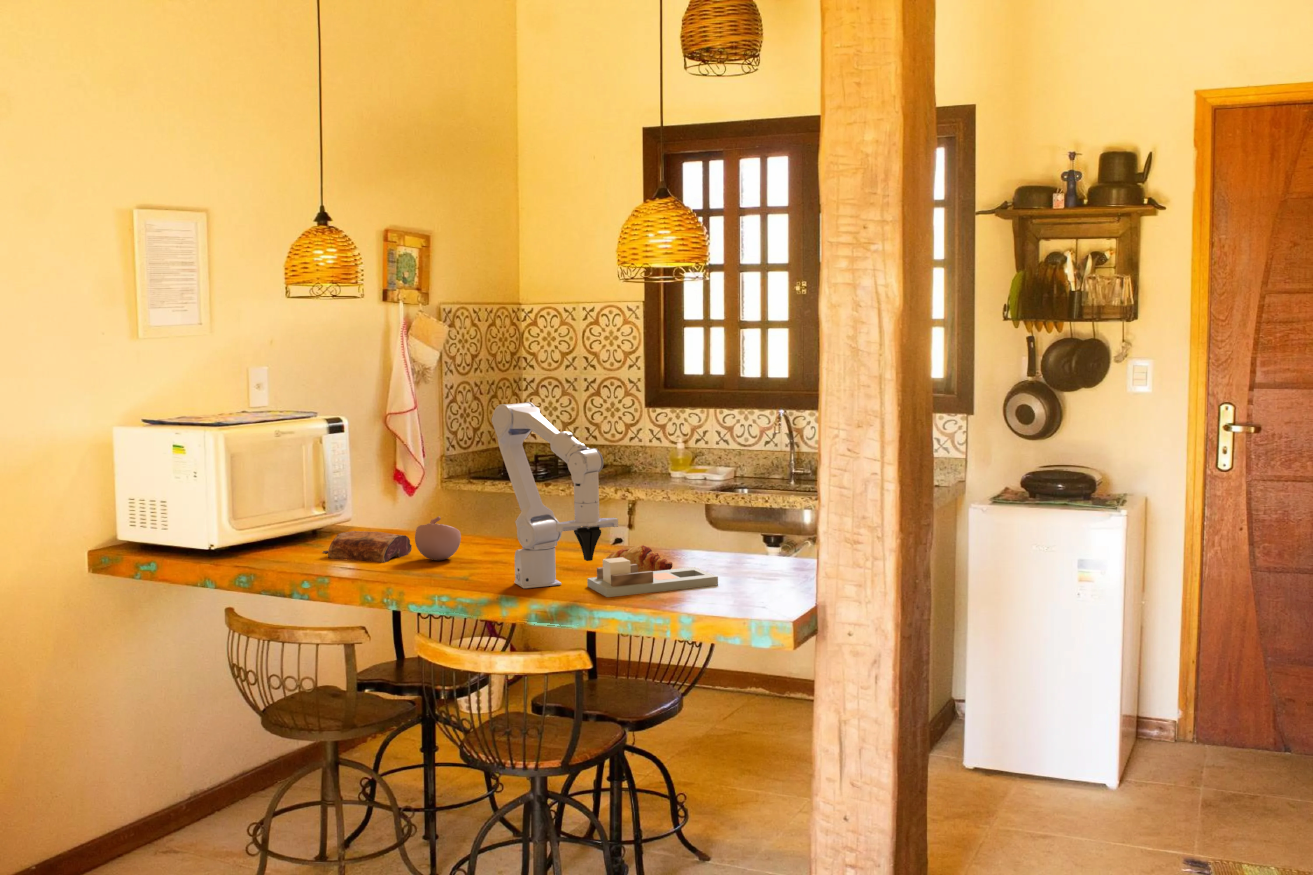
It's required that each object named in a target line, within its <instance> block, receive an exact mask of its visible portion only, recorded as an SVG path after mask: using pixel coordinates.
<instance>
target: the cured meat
mask: <svg viewBox="0 0 1313 875" xmlns="http://www.w3.org/2000/svg"><path fill="white" fill-rule="evenodd" d="M412 546H413V545H412V544H411V540H410V538H409V537H408V536H407V535H404V534H396V533H388V532H383V531H367V530H363V531H359V530H358V531H357V530H351V531H347V532H340V533H338V534H337V535H336V536H335V538H333V540H332V541H331V543H330V545H329V548H328V550H322V553H324V554H325V555H327V557H328V559H337V560H344V559H347V560H346V561H358V560H362V561H361V562H363V561H364V562H375V563H387V562H389V561H390V559H391V558H402V557H405V556H406V557H407V556H408V555H409V554H410V553H411V552H412ZM327 553H328V554H327Z"/></svg>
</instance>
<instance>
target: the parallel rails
mask: <svg viewBox="0 0 1313 875" xmlns="http://www.w3.org/2000/svg"><path fill="white" fill-rule="evenodd" d="M630 566H631V573H626V574H616V575H611V586H613V587H616V586H625V585H634V584H643V583H653V572H652V571H645V572H638V565H637V564H630ZM596 577H597V579H603V566H602V567H601V566H600V567H596Z"/></svg>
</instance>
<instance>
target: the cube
mask: <svg viewBox="0 0 1313 875" xmlns="http://www.w3.org/2000/svg"><path fill="white" fill-rule="evenodd" d="M602 567H603V580H604V581H606V582H607V583H609V584H611V575H616V574H626V573H631V566H630V561H629V560H627V559H625V558H623V557H620V558H610V559H605V558H603V559H602Z"/></svg>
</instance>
